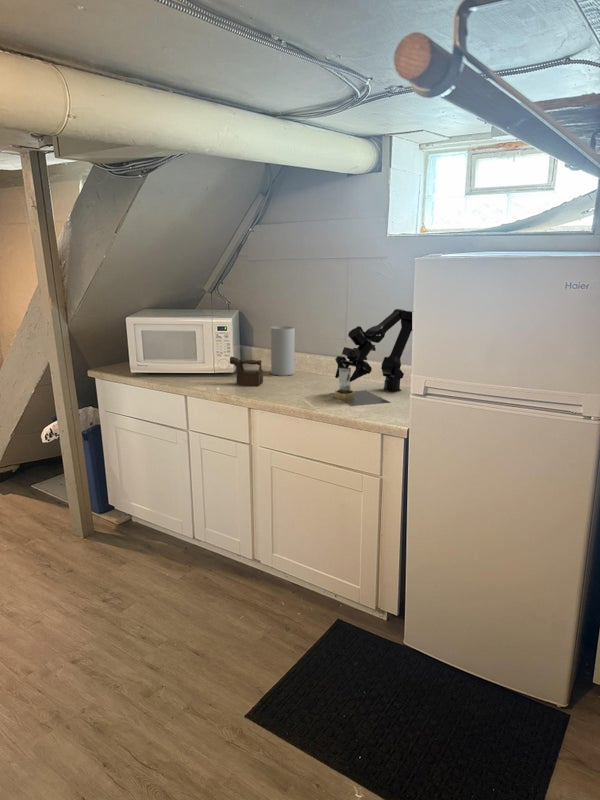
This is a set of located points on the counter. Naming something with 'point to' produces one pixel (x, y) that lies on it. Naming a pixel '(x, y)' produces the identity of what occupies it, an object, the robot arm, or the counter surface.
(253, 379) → the clothes iron
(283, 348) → the cylinder vase
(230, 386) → the counter surface
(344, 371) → the grey cylindrical piece
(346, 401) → the base
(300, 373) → the counter surface
